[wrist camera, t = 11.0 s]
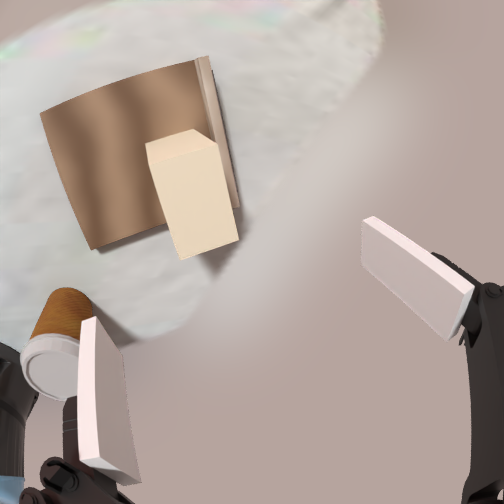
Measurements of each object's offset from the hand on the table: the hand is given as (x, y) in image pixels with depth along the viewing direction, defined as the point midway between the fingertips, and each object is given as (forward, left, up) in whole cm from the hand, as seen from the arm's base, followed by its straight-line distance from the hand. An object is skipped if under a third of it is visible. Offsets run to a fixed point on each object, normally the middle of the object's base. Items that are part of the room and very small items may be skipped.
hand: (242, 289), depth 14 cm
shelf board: (-3, +3, -22) cm, 23 cm away
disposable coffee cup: (-19, -12, -22) cm, 32 cm away
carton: (0, 0, -21) cm, 21 cm away
